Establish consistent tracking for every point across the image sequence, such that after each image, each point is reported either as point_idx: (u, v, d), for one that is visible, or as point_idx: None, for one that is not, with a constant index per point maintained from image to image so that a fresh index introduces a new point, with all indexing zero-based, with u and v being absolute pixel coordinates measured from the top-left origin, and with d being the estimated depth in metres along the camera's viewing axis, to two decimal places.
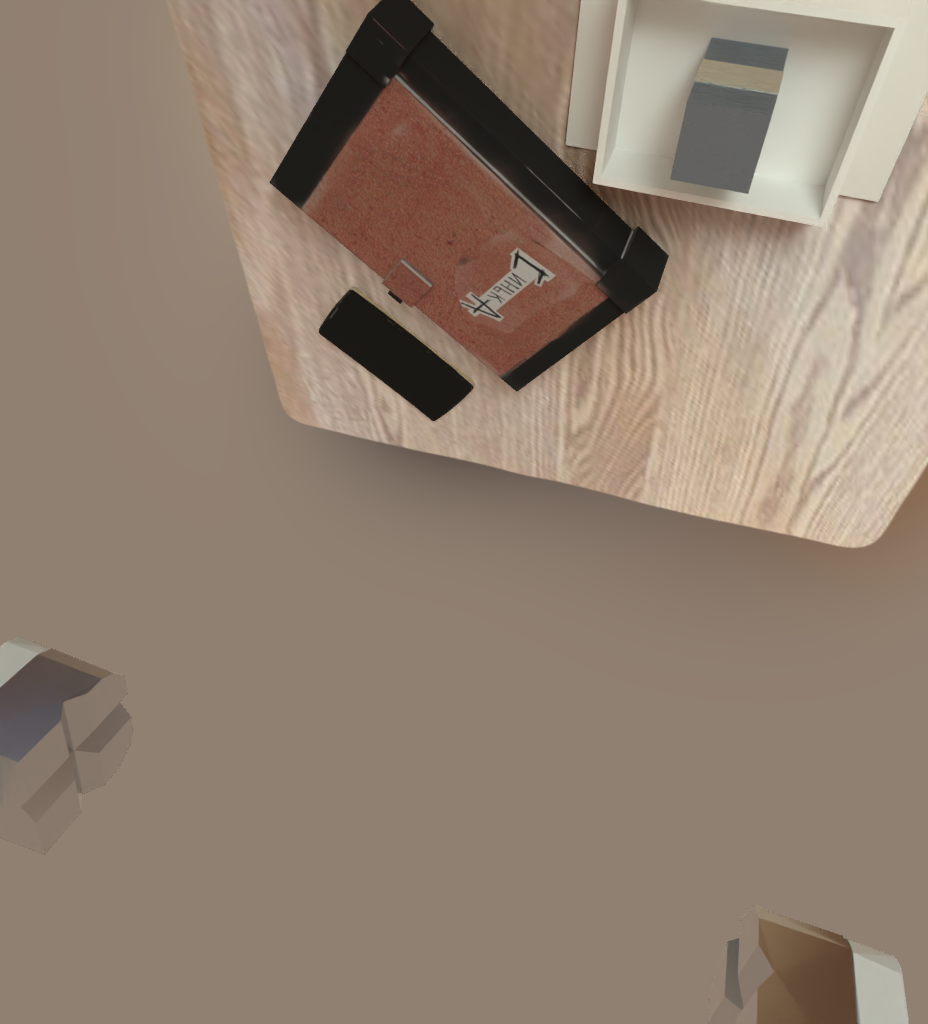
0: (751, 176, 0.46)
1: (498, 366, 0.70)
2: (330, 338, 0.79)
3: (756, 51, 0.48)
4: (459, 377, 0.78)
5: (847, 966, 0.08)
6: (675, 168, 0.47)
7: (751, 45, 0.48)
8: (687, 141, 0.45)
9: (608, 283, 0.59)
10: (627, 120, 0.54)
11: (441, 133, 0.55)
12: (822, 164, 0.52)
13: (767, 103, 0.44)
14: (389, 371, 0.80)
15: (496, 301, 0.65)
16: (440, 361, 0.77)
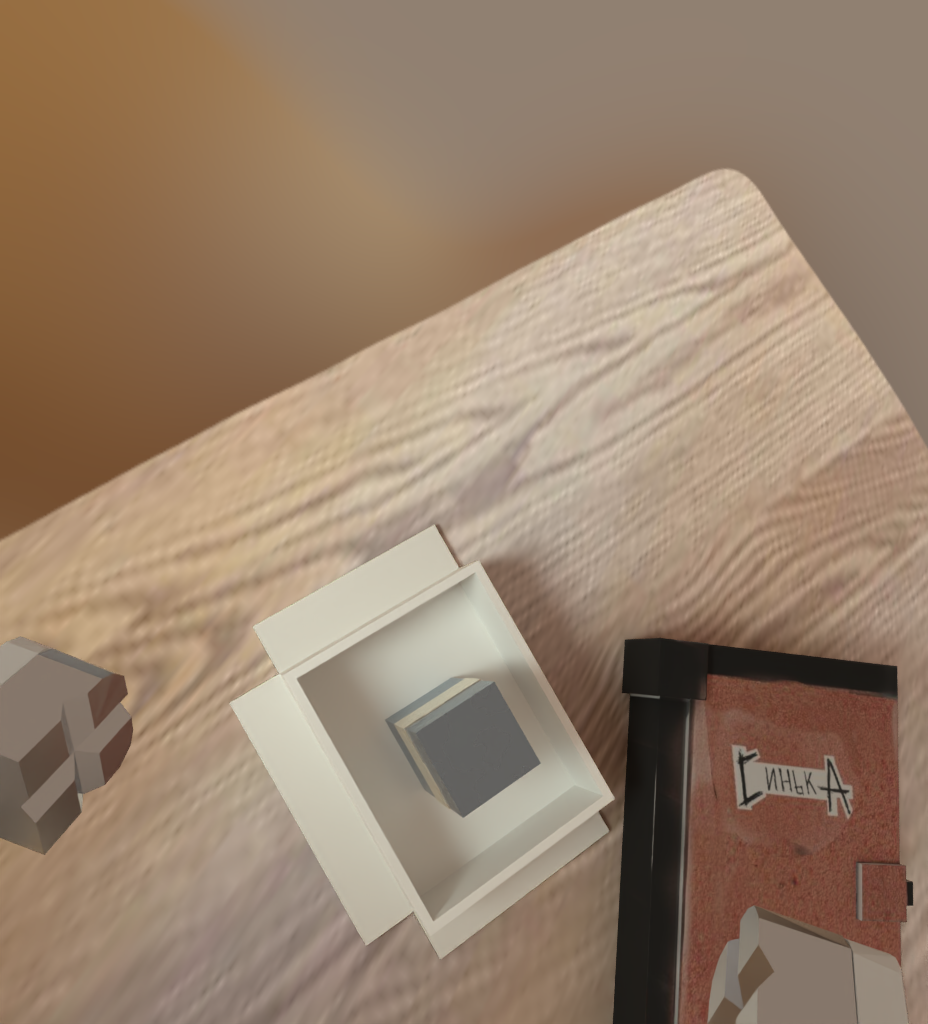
0: (477, 695, 0.39)
1: (886, 711, 0.50)
2: None
3: (403, 748, 0.45)
4: None
5: (847, 966, 0.08)
6: (526, 768, 0.39)
7: (404, 753, 0.46)
8: (496, 782, 0.38)
9: (692, 689, 0.47)
10: (542, 796, 0.47)
11: (689, 984, 0.44)
12: (443, 600, 0.48)
13: (413, 737, 0.39)
14: None
15: (814, 778, 0.48)
16: None
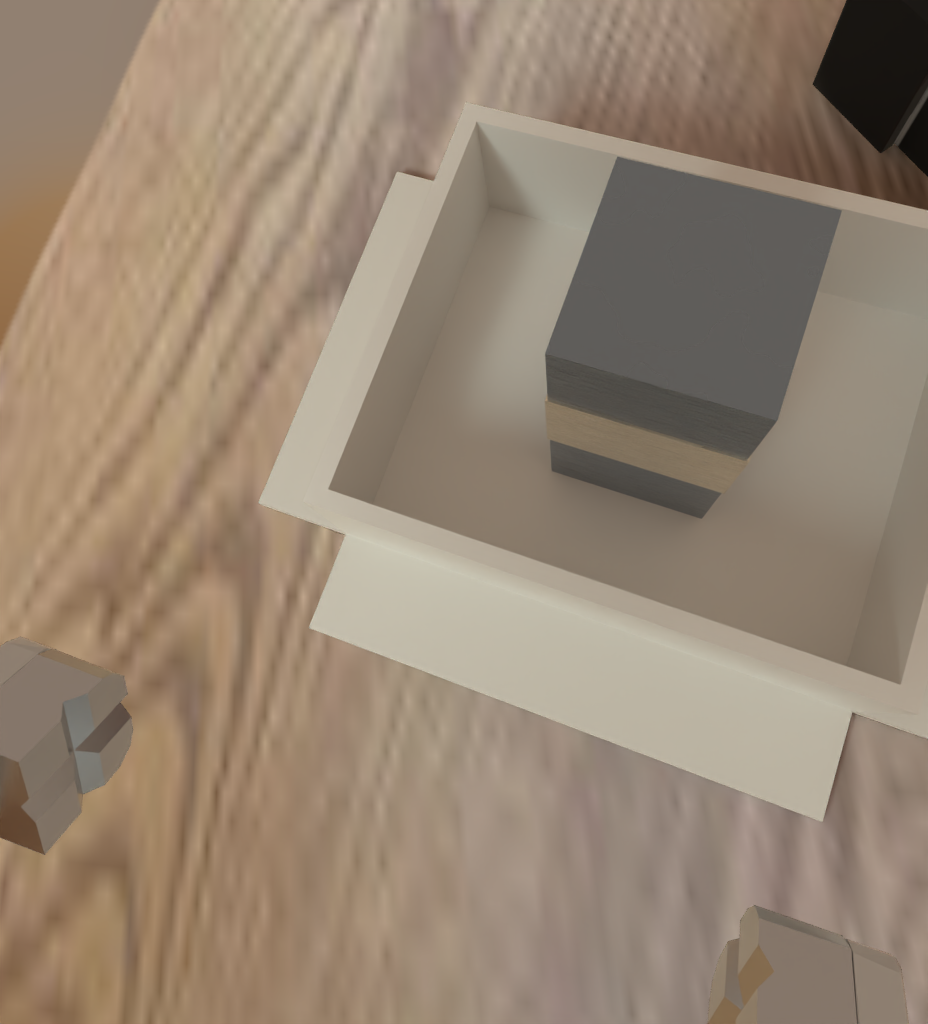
0: (606, 201, 0.16)
1: None
2: None
3: (609, 480, 0.23)
4: None
5: (847, 966, 0.08)
6: (822, 239, 0.16)
7: (621, 491, 0.23)
8: (784, 310, 0.15)
9: None
10: (904, 380, 0.23)
11: None
12: (494, 248, 0.26)
13: (563, 382, 0.17)
14: None
15: None
16: None
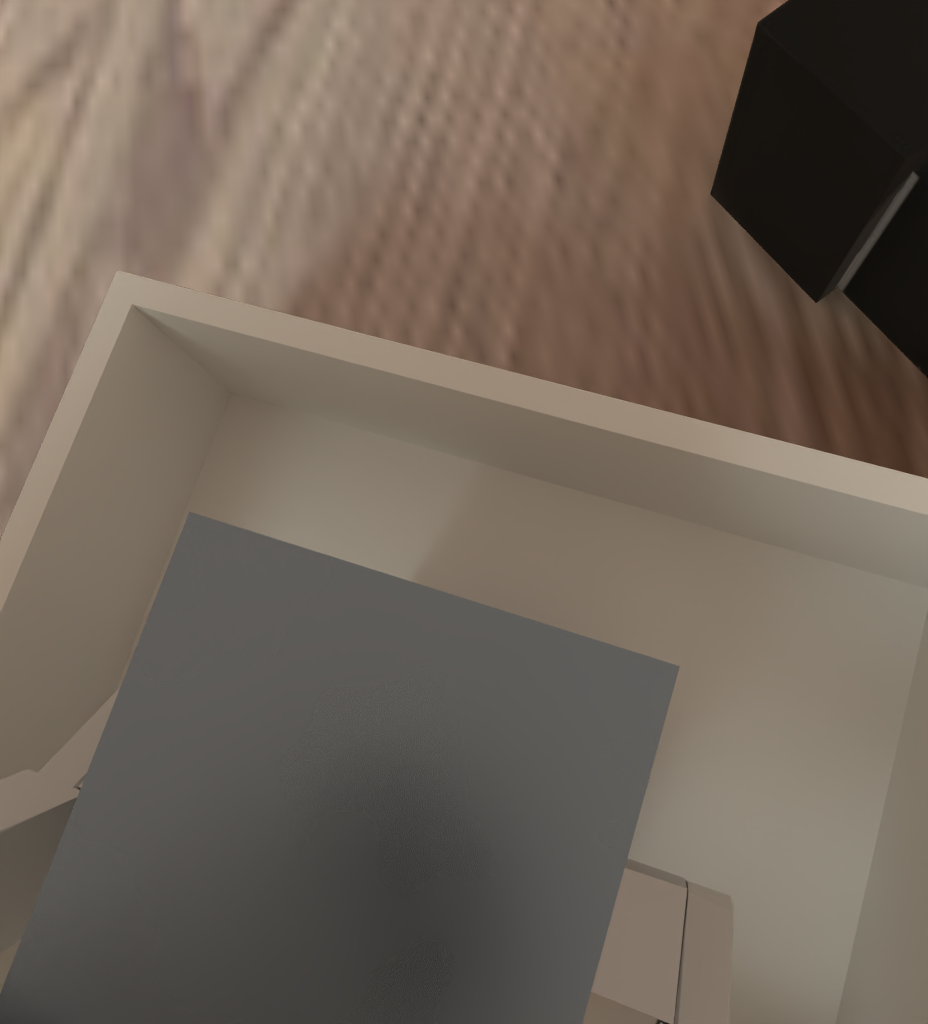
0: (156, 624, 0.07)
1: None
2: None
3: None
4: None
5: (680, 904, 0.09)
6: (632, 745, 0.06)
7: None
8: (538, 940, 0.06)
9: None
10: (874, 690, 0.14)
11: None
12: (235, 462, 0.17)
13: None
14: None
15: None
16: None
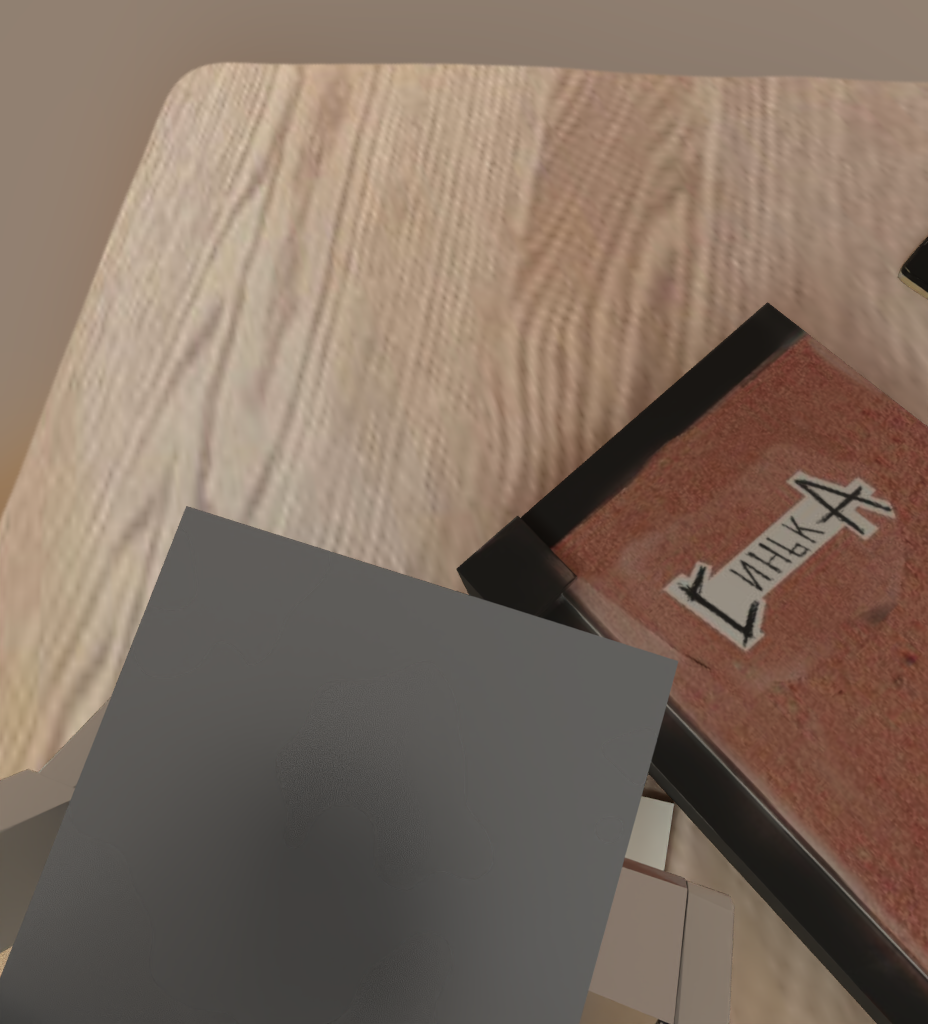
0: (153, 619, 0.07)
1: (808, 359, 0.32)
2: None
3: None
4: None
5: (681, 904, 0.09)
6: (630, 740, 0.06)
7: None
8: (535, 936, 0.06)
9: (549, 582, 0.30)
10: None
11: (912, 930, 0.25)
12: None
13: None
14: None
15: (803, 519, 0.30)
16: None
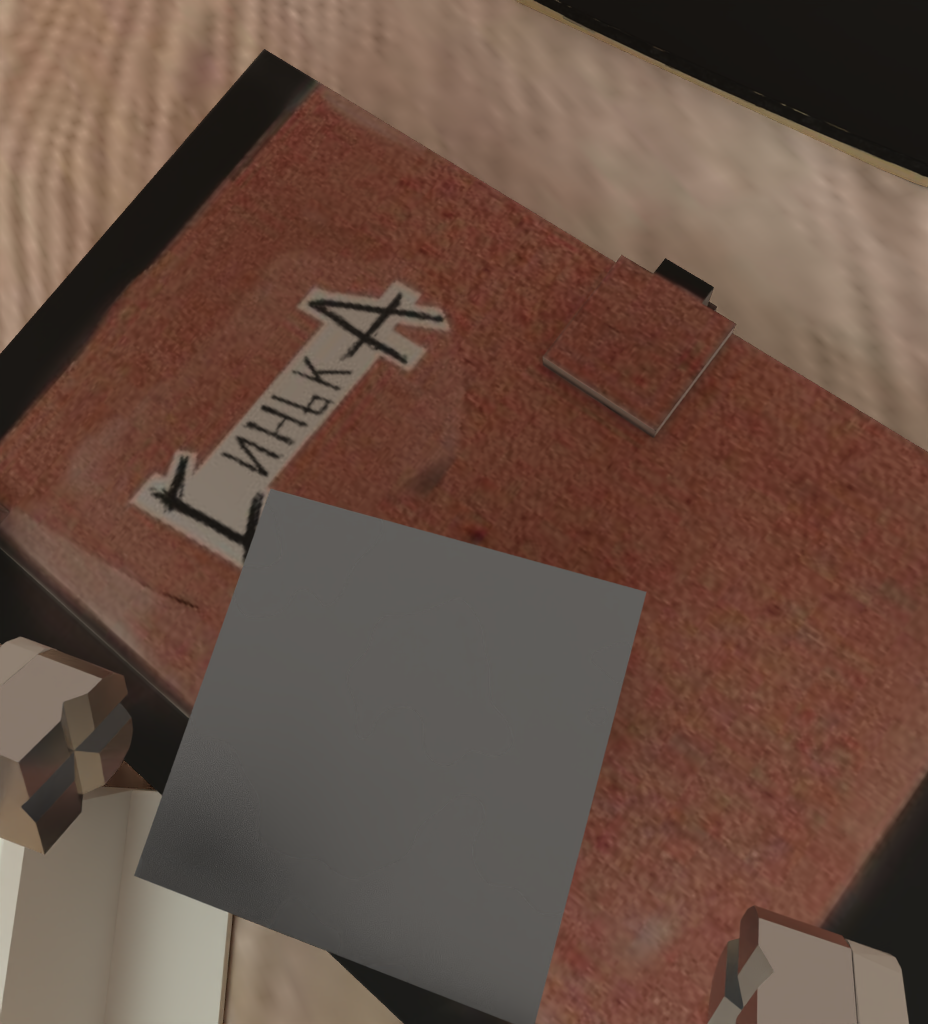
0: (248, 574, 0.09)
1: (322, 120, 0.21)
2: None
3: None
4: (551, 0, 0.25)
5: (847, 966, 0.08)
6: (611, 651, 0.09)
7: None
8: (545, 793, 0.08)
9: None
10: None
11: None
12: None
13: None
14: None
15: (322, 357, 0.20)
16: (616, 30, 0.25)
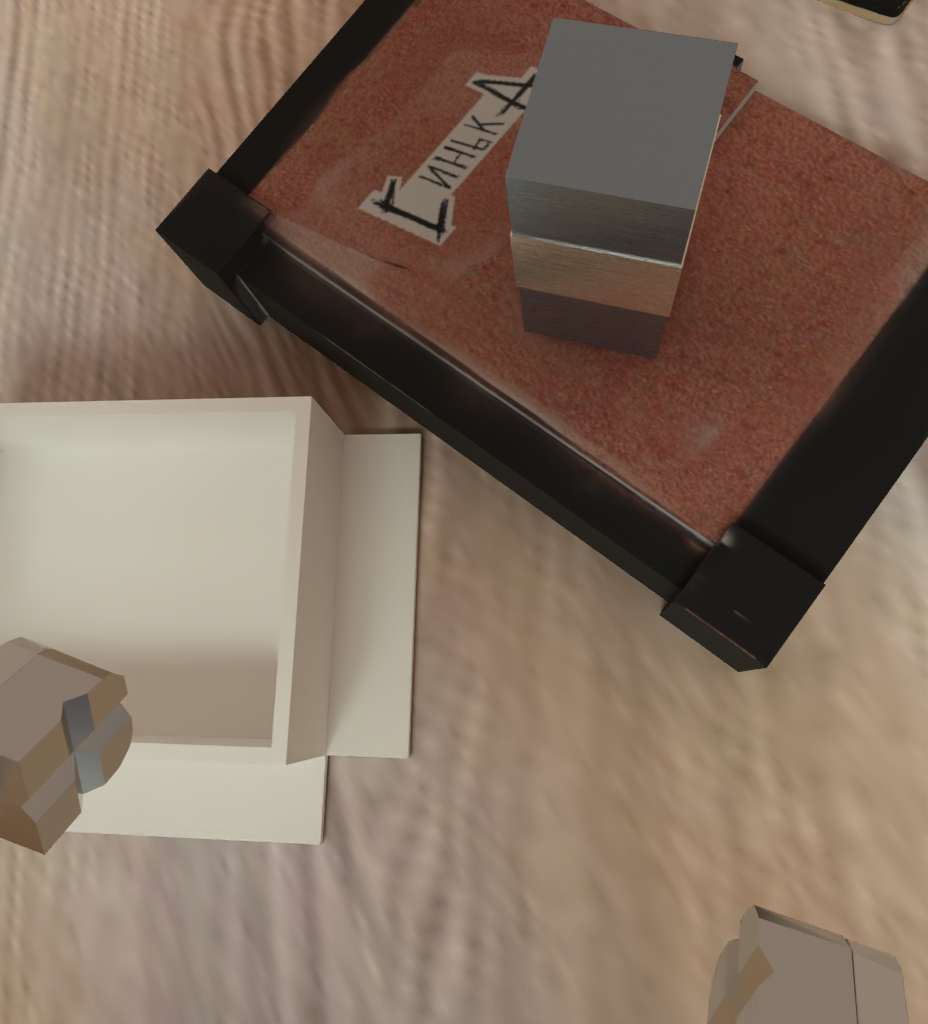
0: (546, 53, 0.20)
1: None
2: None
3: (574, 329, 0.26)
4: None
5: (848, 966, 0.08)
6: (723, 67, 0.19)
7: (585, 341, 0.27)
8: (695, 124, 0.19)
9: (245, 221, 0.30)
10: None
11: (608, 447, 0.27)
12: (7, 482, 0.33)
13: (523, 209, 0.20)
14: None
15: (483, 115, 0.30)
16: None
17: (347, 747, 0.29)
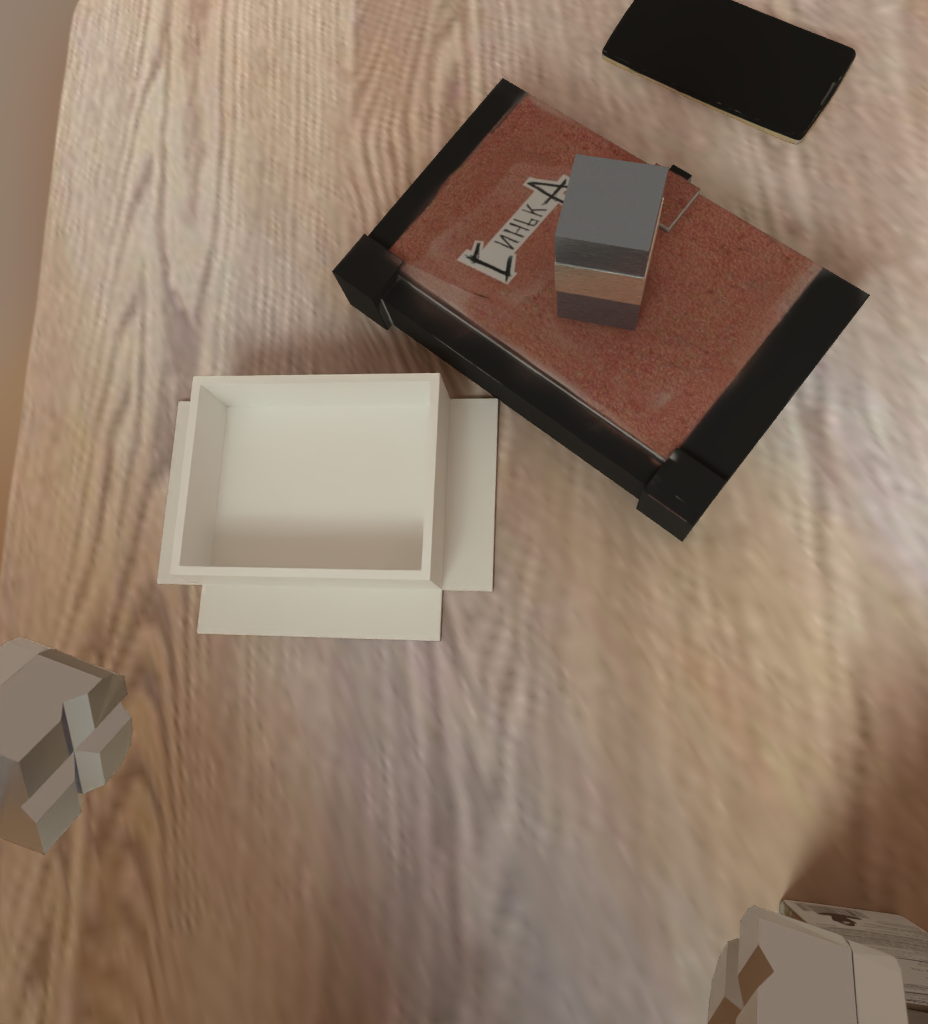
0: (573, 172, 0.39)
1: (529, 109, 0.51)
2: (835, 47, 0.52)
3: (587, 314, 0.46)
4: (623, 61, 0.54)
5: (847, 966, 0.08)
6: (661, 179, 0.39)
7: (593, 321, 0.46)
8: (648, 208, 0.38)
9: (388, 267, 0.49)
10: None
11: (606, 405, 0.46)
12: (235, 427, 0.52)
13: (562, 251, 0.40)
14: (734, 27, 0.54)
15: (534, 204, 0.49)
16: (654, 75, 0.54)
17: (455, 584, 0.48)
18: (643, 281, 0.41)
